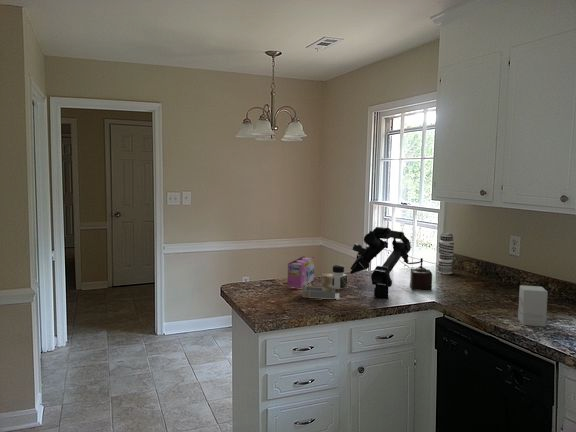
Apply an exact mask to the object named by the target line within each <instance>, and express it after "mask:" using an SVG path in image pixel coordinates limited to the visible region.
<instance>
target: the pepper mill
mask: <svg viewBox="0 0 576 432" xmlns="http://www.w3.org/2000/svg"><path fill="white" fill-rule="evenodd" d="M401 259H403V263H405V264H407V265H415V264H420V266H418V267H417V268H411V269H410V280H409V281H410V282H409V288H410V289H411V290H412V291H432V290H433V289H432V287H433V273H432V272H431V270H430V269H428V268H425V267H424V266H423V262H424V260H423V259H424V258H423V257H420V260H419V261H412V262H410V261H409V253H407V254H406V255H404V256H402V257H401Z"/></svg>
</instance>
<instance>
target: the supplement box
mask: <svg viewBox="0 0 576 432" xmlns="http://www.w3.org/2000/svg"><path fill="white" fill-rule="evenodd" d="M518 292H519V294H518V312H517V319H518V321H519V322H520V323H521V325H523V326H531V327H532V326H533V327H544V328H545V327H547V313H548V312H547V311H548V310H547V309H548V296H549V295H548V293H549V292H548V290H546V289H545V288H544V287H543V286H539V285H538V286H535V285H534V286H533V285H519V291H518Z"/></svg>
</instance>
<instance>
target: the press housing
mask: <svg viewBox="0 0 576 432" xmlns="http://www.w3.org/2000/svg"><path fill="white" fill-rule="evenodd" d="M336 290H337V289H336V288H333V290H332V291H322V286H308V285H307V281H304V283H303V288H302V294H301V295H302V296H301V297H309V298H321V299H320V300H322V299H336V300H335V301H340V293H339V292H338V293H337V292H336Z"/></svg>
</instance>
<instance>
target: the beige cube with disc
mask: <svg viewBox="0 0 576 432" xmlns="http://www.w3.org/2000/svg"><path fill="white" fill-rule="evenodd" d="M321 277H322V278H321V287H322V291H332V290H333V286H334V277H333V273H322V276H321Z"/></svg>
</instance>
